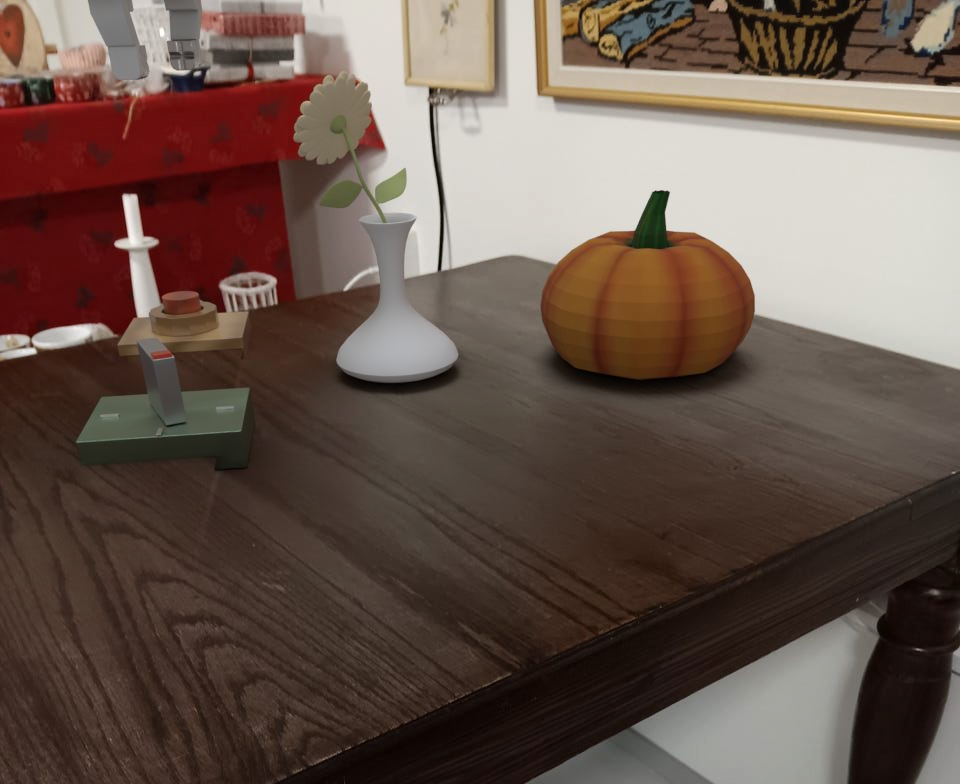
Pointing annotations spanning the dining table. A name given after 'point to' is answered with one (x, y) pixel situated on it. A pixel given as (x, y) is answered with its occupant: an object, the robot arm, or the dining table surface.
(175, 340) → the button block
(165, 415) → the grey panel
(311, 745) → the dining table surface
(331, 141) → the flower in vase
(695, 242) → the pumpkin
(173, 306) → the button
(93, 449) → the panel
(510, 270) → the dining table surface
